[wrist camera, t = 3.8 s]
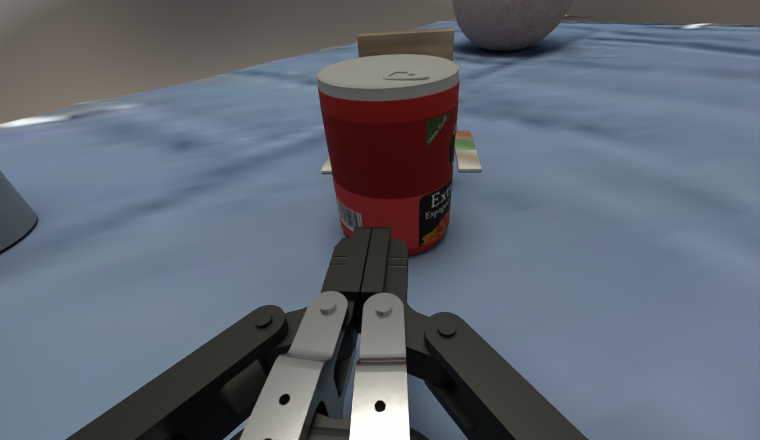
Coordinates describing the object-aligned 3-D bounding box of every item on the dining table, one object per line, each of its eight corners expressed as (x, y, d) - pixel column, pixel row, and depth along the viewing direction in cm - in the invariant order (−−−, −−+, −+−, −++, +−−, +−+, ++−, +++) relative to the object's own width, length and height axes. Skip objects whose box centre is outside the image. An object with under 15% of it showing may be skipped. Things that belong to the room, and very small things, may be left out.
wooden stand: (481, 171, 31) (494, 65, 25) (321, 173, 32) (303, 74, 27) (459, 98, 48) (464, 26, 43) (356, 102, 50) (348, 33, 44)
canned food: (446, 266, 21) (460, 86, 15) (327, 255, 23) (292, 88, 16) (450, 200, 27) (461, 51, 21) (355, 195, 29) (338, 55, 22)
